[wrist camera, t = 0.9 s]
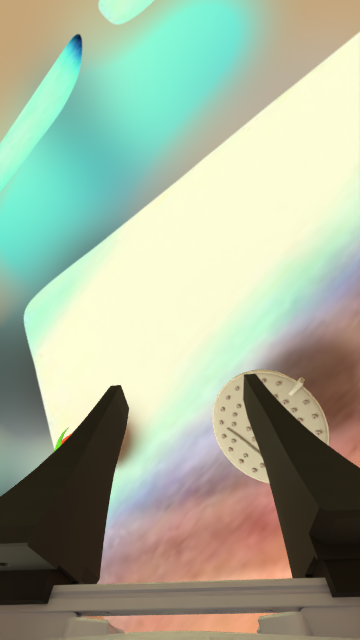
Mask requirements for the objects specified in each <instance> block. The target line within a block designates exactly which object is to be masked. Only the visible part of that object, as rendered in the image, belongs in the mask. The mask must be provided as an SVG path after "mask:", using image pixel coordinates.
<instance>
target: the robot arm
mask: <svg viewBox="0 0 360 640" xmlns="http://www.w3.org/2000/svg"><path fill="white" fill-rule="evenodd" d="M243 401H244V405H245V409H246V413H247V417H248V420H249V423H250V425H251V428H252V431H253V434H254V436H255V439H256V442H257V444H258V447H259V450H260V453H261V455H262V458H263V461H264V464H265V468H266V471H267V475H268V479H269V483H270V486H271V490H272V494H273V498H274V502H275V505H276V509H277V513H278V517H279V522H280V526H281V530H282V534H283V538H284V542H285V546H286V551H287V555H288V559H289V564H290V568H291V573H292V577H293V579H260V580H225V581H190V582H155V583H120V584H97V582H98V581H99V578H100V568H101V559H102V551H103V542H104V534H105V527H106V519H107V513H108V506H109V500H110V494H111V488H112V482H113V476H114V472H115V468H116V464H117V460H118V456H119V452H120V449H121V445H122V441H123V437H124V434H125V430H126V426H127V419H128V412H129V407H128V404H127V401H126V398H125V396H124V393H123V390H122V387H121V385H116V386H110V388H109V389H108V390H107V391H106V393H105V394H104V395H103V397H102V398H101V399H100V401H99V402H98V403H97V404H96V406H95V407H94V408H93V409H92V411H91V412H90V413H89V414H88V416H87V417H86V418H85V419H84V421H83V422H82V423H81V424H80V425H79V426H78V427H77V429H76V430H75V431H74V432H73V433H72V434H71V435H70V436H69V437H68V439H67V440H66V441H65V442H64V443H63V444H62V445H61V446H60V447H59V448H58V449H57V450H56V451H55V452H54V453H53V454H51V455H50V456H49V457H48V458H47V459H46V460H45V461H44V462H43V463H42V464H40V465H39V466H38V467H37V468H36V469H35V470H34V471H32V472H31V473H30V474H29V475H28V476H26V477H25V478H24V479H23V480H21V481H20V482H19V483H18V484H17V485H15V486H14V487H13V488H11V489H10V490H9V491H7V492H6V493H5V494H3V495H2V496H1V497H0V640H360V468H359V467H358V466H356V465H355V464H353V463H352V462H350V461H349V460H347V459H346V458H344V457H343V456H342V455H340V454H339V453H338V452H336V451H335V450H334V449H332V448H331V447H330V446H328V445H327V444H326V443H324V442H323V441H322V440H321V439H319V438H318V437H317V436H316V435H314V434H313V433H312V432H311V431H310V430H308V429H307V428H306V427H305V426H304V425H303V424H302V423H301V422H299V421H298V420H297V419H296V418H295V417H294V416H293V415H292V414H291V413H290V412H289V411H288V410H287V409H286V408H285V407H284V406H283V405H282V404H281V403H280V402H279V401H278V400H277V399H276V397H275V396H274V395H273V394H272V393H271V392H270V391H269V390H268V388H267V387H266V386H265V385H264V384H263V382H262V381H261V380H260V379H259V377H258V376H257V375H256V374H255V373H254V374H244V387H243ZM235 613H278V614H272V615H266V616H261V617H259V620H258V622H259V628H258V630H257V634H255V633H234V632H211V631H153V632H133V633H125V632H124V630H121V629H118V628H115V627H113V626H112V625H110V623H109V621H108V620H100V619H91V618H82V617H81V616H130V615H183V614H235Z"/></svg>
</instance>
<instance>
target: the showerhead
mask: <svg viewBox="0 0 360 640" xmlns="http://www.w3.org/2000/svg"><path fill="white" fill-rule="evenodd" d="M254 373H255V374H256V375H257V376H258V377H259V379H260V380H261V381H262V382H263V384H264V385H265V386H266V387H267V388H268V390H269V391H270V392H271V393H272V394H273V395H274V396H275V397H276V399H277V400H278V401H279V402H280V403H281V404H282V405H283V406H284V407H285V408H286V409H287V410H288V411H289V412H290V413H291V414H292V415H293V416H294V417H295V418H296V419H297V420H298V421H299V422H301V423H302V424H303V425H304V426H305V427H306V428H307V429H308V430H310V431H311V432H312V433H313V434H314V435H316V436H317V437H318V438H319V439H321V440H322V441H323V442H324V443H326V444H327V445H328V446H329V441H330V434H329V427H328V422H327V419H326V416H325V414H324V412H323V410H322V408H321V406H320V404H319V403H318V401H317V400H316V399H315V397H314V396H313V395H312V394H311V393H310V392H309V391H308V390H307V389H306V388H305V387H304V386H303V383H304V381H305V379H304V378H302V377H301V378H300V379H299V380H298V381H296V380H295V379H293V378H291V377H289V376H287V375H285V374H282V373H280V372H276V371H272V370H252V371H248V372H244V373H242V374H239V375H238V376H236V377H234V378H233V379H232V380H230V381H229V382H228V383H227V384H226V385H225V386H224V387H223V388H222V390H221V391H220V393H219V394H218V396H217V398H216V401H215V404H214V408H213V418H212V419H213V428H214V433H215V436H216V439H217V441H218V444H219V446H220V447H221V449H222V451H223V452H224V454H225V455H226V456H227V458H228V459H229V460H230V461H231V462H232V463H233V464H234V465H235V466H236V467H237V468H238V469H239V470H241V471H242V472H244V473H245V474H247V475H248V476H250V477H252V478H254V479H257V480H259V481H262V482H266V483H269V479H268V475H267V471H266V468H265V464H264V461H263V458H262V455H261V453H260V450H259V447H258V444H257V442H256V439H255V436H254V434H253V431H252V428H251V425H250V423H249V420H248V417H247V413H246V409H245V405H244V401H243V387H244V374H254Z"/></svg>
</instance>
